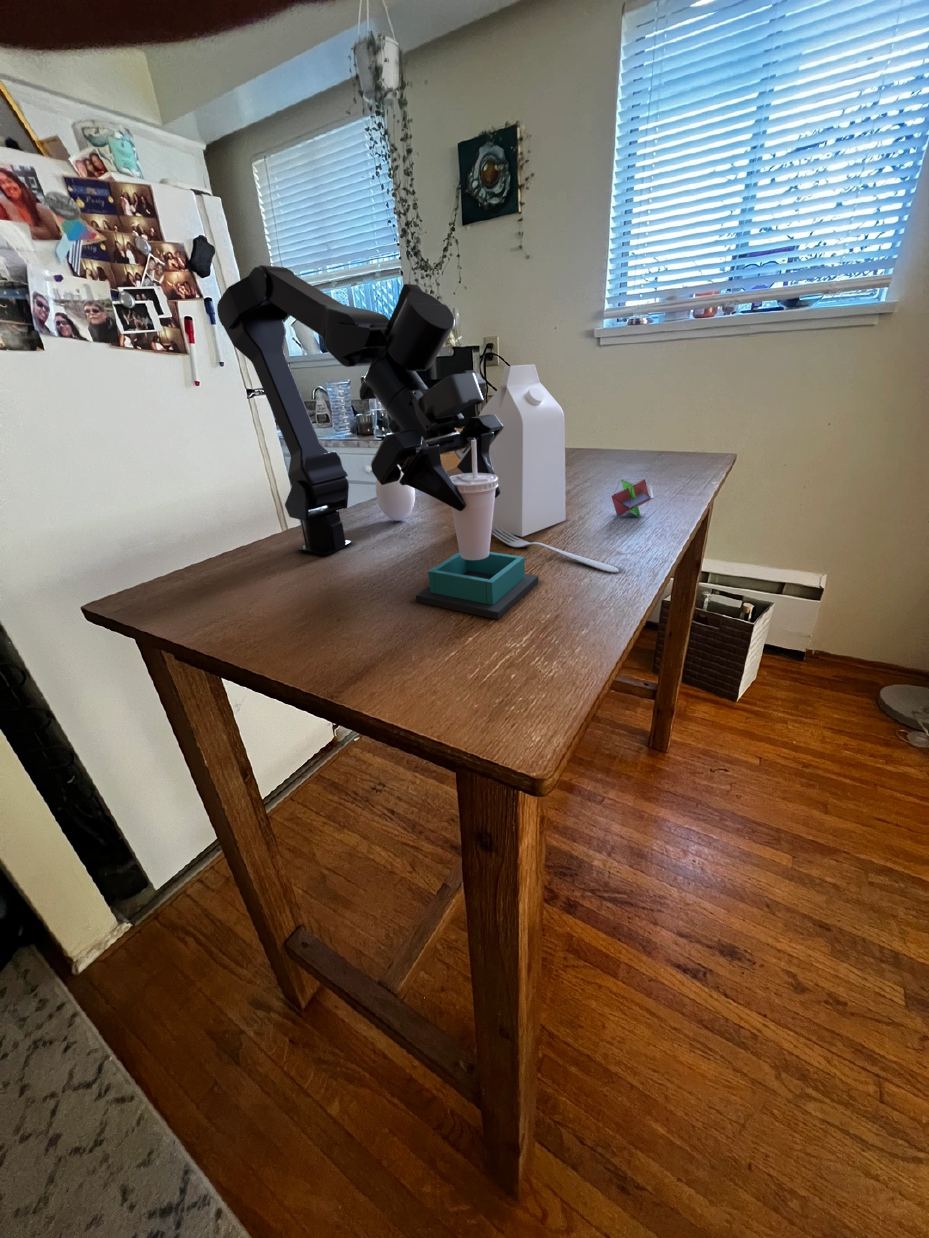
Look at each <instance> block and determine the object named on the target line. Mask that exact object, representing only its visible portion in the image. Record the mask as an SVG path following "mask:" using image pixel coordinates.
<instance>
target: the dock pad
mask: <svg viewBox="0 0 929 1238" xmlns="http://www.w3.org/2000/svg"><path fill="white" fill-rule="evenodd" d="M525 559H526V557H525V556H520V555H515V554H507V553H500V552H493V551H489V556H488V557H486V558H484V559H480V560H466V559H463V558H461V556H460V552H459V551H458V552H457V553H455V554H453V555H452V556H450V557H449V558H447V559H446V560H445V559H444V561H442V562H440V563H439V564H437V565H436V566H434V567H432V568H430V569H429V570H428V571H427V573H428V574H427V575H428V582H429V585H428V586H427V587H425V588H423V589H422V590H421V591H419V592H417V593H416V594H415V602H417V603H420V604H425V605H428V606H429V605H430V606H433V607H439V608H443V609H447V610H452V611H457V612H461V613H465V614H470V615H475V616H479V617H483V618H484V617H485V618H488V619H492V620H497V621H498V620H499V619H500V618H501V617H503V616H504V615H505V614H506V613H507V612H508V611H509V610H510V609H512V608H513V606H514V605H515V604H517V603H518V602H519V601H520V600H521V599H522V598H523V597H524V596H525V595H526V594H528V593H529V592H530V591H531V590H532V589H533V588H534V587H535V586H536V585H538V583H539V575H537V574H536V575H535V574H528V573H525V572H526V571H525V569H526V564H525V563H526V562H525V561H526V560H525Z"/></svg>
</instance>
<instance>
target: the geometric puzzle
mask: <svg viewBox="0 0 929 1238" xmlns="http://www.w3.org/2000/svg"><path fill="white" fill-rule="evenodd" d="M620 482H621V483H622V484H621V485H622V488H623V489H621V490H619V491H618V492H617V489H618V488H615V490H614V493H612V495H611V496H610V498H611V501H612V504H613V506H614V510H615V514H616V517H623V518H625V517H626V516H623V515H625V514H627V513H632V514H633V515H636V517H638V518H642V515H641V512H640V508H639V507H641V506H642V505H643V504H646V503H647V504H646V506H648V505H649V503H650V501H652V500H654V498H655V497H654V489H653V487H652V486H651V485H650V483H649V482H648V481H647V480H646V478H644V479H640V480H638V481H637V482H633V483H632V482H629V481H627V480H625V479H623V478H620V480H619V482H618V483H617V486H616V487H619V485H620ZM648 487H649V488H648ZM649 489H650V490H649Z"/></svg>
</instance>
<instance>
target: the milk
mask: <svg viewBox="0 0 929 1238" xmlns="http://www.w3.org/2000/svg"><path fill="white" fill-rule="evenodd" d="M540 381H541V380H540V376H539V374H538V370H537V366H536V364H532V363H531V364H520V365H510V366H509V365H508V366H507V365H506V366H504V367H503V372H502V376H501V381H500V386H499V387H498V388H497V390H496V391H495V392H494V393H493V394H492V396H491V397H490V399H489V400H488V401H487V403H486V404H485V405H484V407H483V408H482V409H481V410H480V412H479V415H478V416H482V415H495V416H496V417H497V418H498V420H499V421H500V422H501V424H502V425H503V429H502V431H501V432H500V433H499V435H498V436H497V437H496V438H495V440H494V441H493V442H492V443H491V445H490V448H489V454H490V459H491V463H492V466H493V470H494V473H495V476H497V477H498V486H499V489H500V495H499V496H498V497H497V498H495V500H494V510H493V520H492V529H493V530H495V531H497V530H496V529H495V528H497V529H498V530H500V529H499V528H498V526H499V527H500V528H502V529H503V530H505V531H506V532H508V533H510V534H511V535H513V536H516V537H521V538H523V537H526V536H528V535H530V534H533V533H536V532H539V531H542V530H544V529H546V528H549V527H552V526H555V525H557V524H560V523H563V522H565V521H566V520H567V519H566V517H567V516H566V514H567V513H566V512H567V511H566V507H567V506H566V504H567V503H566V419H565V418H566V417H565V413H564V410H563V408H562V406H561V405H560V403H558V401H557V400H556V399H555V398H554V396H552V394H551V393H550V392H549V391H548V390H547V388H546V387H545V386H544V385H543V384H542V383H541V382H540ZM500 531H501V532H503V531H502V530H500ZM503 533H504V532H503Z"/></svg>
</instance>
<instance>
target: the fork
mask: <svg viewBox="0 0 929 1238" xmlns="http://www.w3.org/2000/svg"><path fill="white" fill-rule="evenodd" d="M498 528H499V529H500V530H502V531H503V532H502V531H500V530H498V529H497V528H495V529H496V530H494V529H492V530H491V535H493V536H494V537H495V538H497V539H498V540H500V541H501V542H503V543H504V544H506V545H508V546H510V547H512V548H524V547H527V546H533V545H534V546H540V547H542V548H545V549H547V550H549V551H551V552H552V551H553V552H555V553H556V554H559V555H561V556H564V557H565V558H568V559H571V560H574V561H576V562H579V563H581V564H583V565H586V566H590V567H592V568H595V569H598V570H600V571H603V572H606V573H607V572H608V573H618V572H619V571H620V570H619V568H618V567H615V566H613V565H611V564H607V563H604V562H601V561H597V560H594V559H590V558H587V557H584V556H580V555H577V554H574V553H571V552H567V551H565V550H562V549H559V548H556V547H554V546H550V545H548V544H545V543H542V542H538V541H537V542H536V541H533V542H529V541H527V540H524V539H521V538H520V537H518V536H516V535H513V534H510V533H508V532H506V531H505V530H503V529H502V528H500V527H499V526H498Z"/></svg>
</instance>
